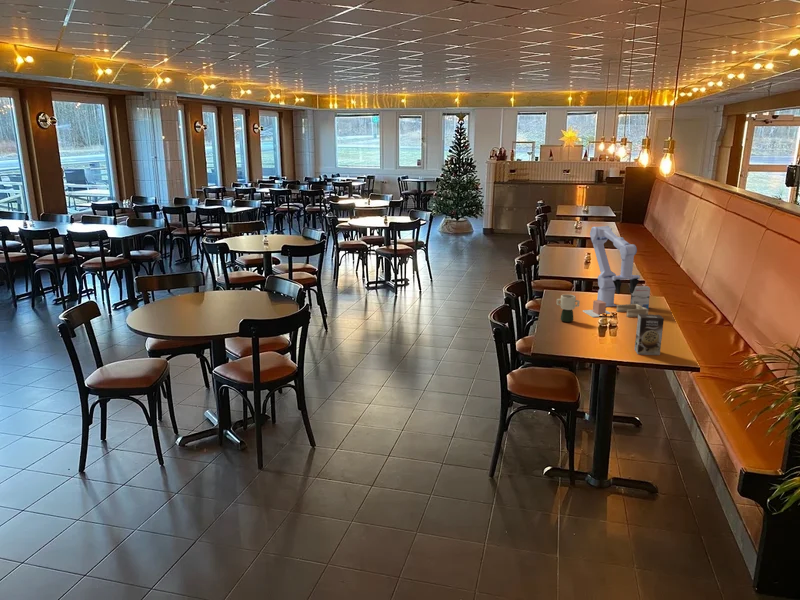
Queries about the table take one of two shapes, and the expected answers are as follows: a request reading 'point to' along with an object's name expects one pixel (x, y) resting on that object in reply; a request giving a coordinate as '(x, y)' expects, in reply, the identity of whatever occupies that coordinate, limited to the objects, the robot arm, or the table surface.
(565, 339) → the table surface
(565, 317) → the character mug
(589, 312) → the pad
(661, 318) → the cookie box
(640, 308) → the frame
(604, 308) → the block
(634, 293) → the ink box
